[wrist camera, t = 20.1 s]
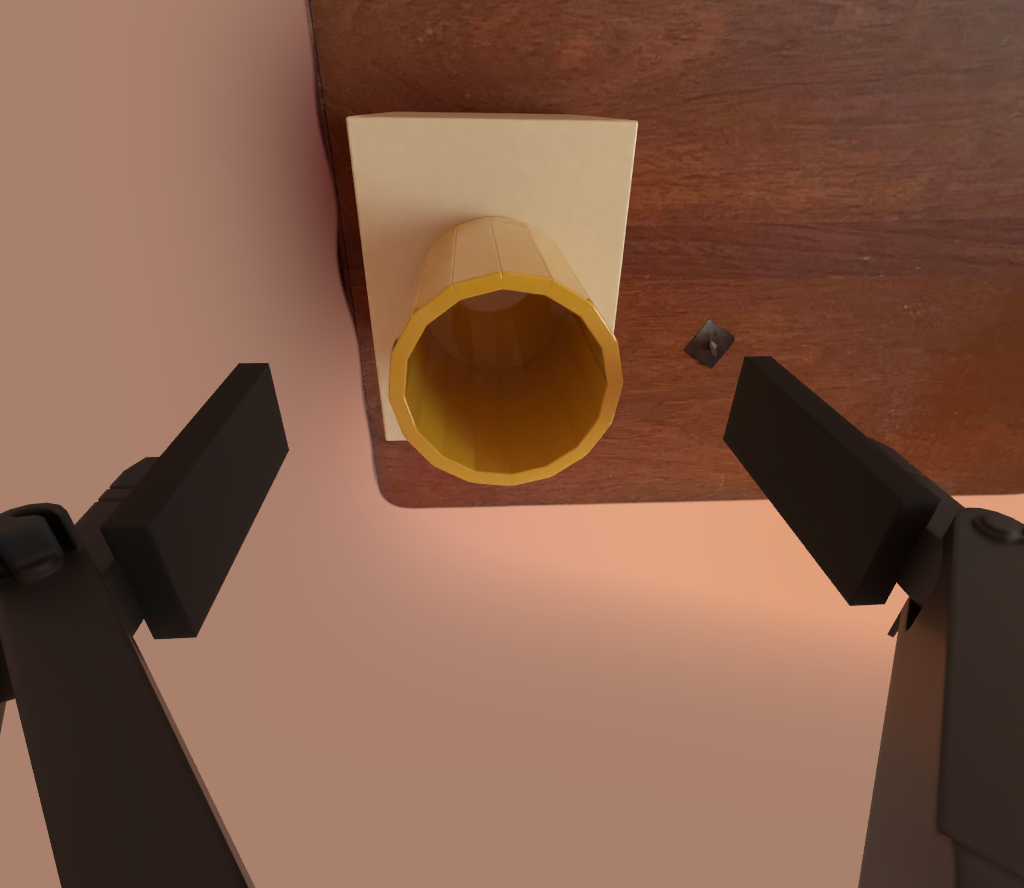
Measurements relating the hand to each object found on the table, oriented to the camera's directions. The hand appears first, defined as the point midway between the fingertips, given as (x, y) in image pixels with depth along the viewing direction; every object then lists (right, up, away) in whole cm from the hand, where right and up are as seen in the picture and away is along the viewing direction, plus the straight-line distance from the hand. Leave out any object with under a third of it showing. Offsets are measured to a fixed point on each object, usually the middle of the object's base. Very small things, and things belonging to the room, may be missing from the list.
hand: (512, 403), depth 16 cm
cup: (-1, +5, +9) cm, 10 cm away
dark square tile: (+15, +7, +28) cm, 33 cm away
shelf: (-2, +13, +22) cm, 26 cm away
